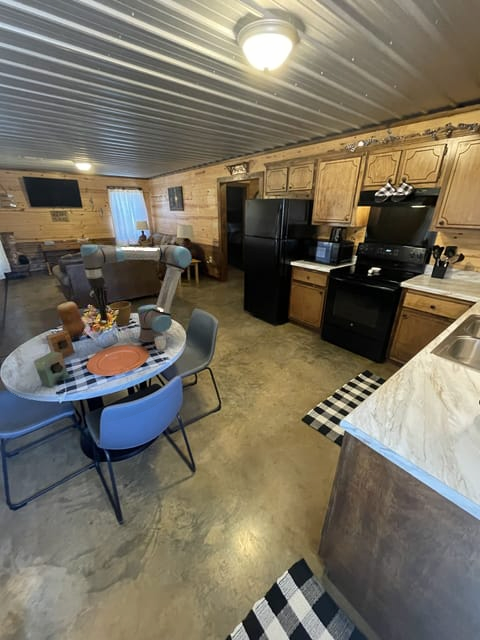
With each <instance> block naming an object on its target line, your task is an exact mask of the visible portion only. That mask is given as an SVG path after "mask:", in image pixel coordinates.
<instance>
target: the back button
mask: <svg viewBox="0 0 480 640" xmlns="http://www.w3.org/2000/svg"><path fill="white" fill-rule="evenodd" d="M58 346H59V347H61V348H63V349H65V348H67V347H68V343H67V342H65V341H60V342H59V344H58Z"/></svg>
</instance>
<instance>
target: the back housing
mask: <svg viewBox="0 0 480 640" xmlns="http://www.w3.org/2000/svg"><path fill="white" fill-rule="evenodd" d="M45 339H46V342H47V345H48V348H49V351H50V352H52V351H54V352H59V353H62V356H63V358H65V357H68V356H70V355H72V354H75V353H76V352H75V349H74V345H73V342H72V341H73V340H72V338H71V337H70V334H69V332H67V331H65V330H62V329H61V330H59V331H56V332H53V333H50V334H48V335H45ZM60 341H65V342H67V343H68V347H67V348H65V349H63V348H61V347H59V346H58V344H59V342H60Z"/></svg>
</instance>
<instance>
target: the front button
mask: <svg viewBox="0 0 480 640" xmlns="http://www.w3.org/2000/svg"><path fill="white" fill-rule="evenodd" d="M51 370H52V372H56V373H60V372H62V370H63V366H62V365H58V364H54V365H53V366H52V367H51Z"/></svg>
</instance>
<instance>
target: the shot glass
mask: <svg viewBox="0 0 480 640" xmlns="http://www.w3.org/2000/svg"><path fill="white" fill-rule="evenodd" d="M154 340H155V342H154V344H155V348H156V350H158V351H162V350H165V349H166V343H167V341H166V336H165V335H163V336H157V337H155V338H154Z"/></svg>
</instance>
